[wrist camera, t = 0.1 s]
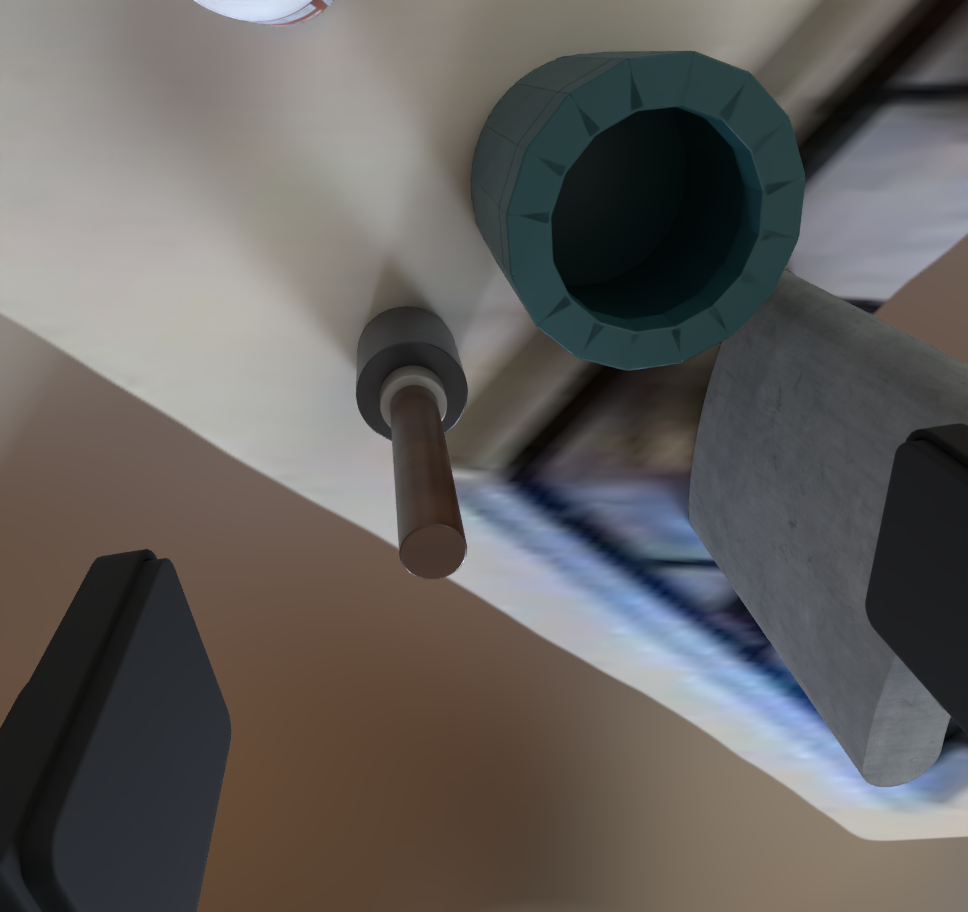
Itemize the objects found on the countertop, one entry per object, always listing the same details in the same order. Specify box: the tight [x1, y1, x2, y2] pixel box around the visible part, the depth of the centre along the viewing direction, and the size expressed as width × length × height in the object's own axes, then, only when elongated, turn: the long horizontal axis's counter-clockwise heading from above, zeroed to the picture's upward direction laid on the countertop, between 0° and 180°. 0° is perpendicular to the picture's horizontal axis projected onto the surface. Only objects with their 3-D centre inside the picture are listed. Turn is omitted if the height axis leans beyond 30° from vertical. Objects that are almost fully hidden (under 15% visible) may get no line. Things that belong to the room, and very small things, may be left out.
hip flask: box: [689, 270, 968, 787], centre depth 32 cm, size 16×4×20 cm, turn 176°
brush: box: [356, 307, 468, 579], centre depth 29 cm, size 5×5×17 cm
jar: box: [471, 51, 805, 370], centre depth 29 cm, size 10×10×10 cm
